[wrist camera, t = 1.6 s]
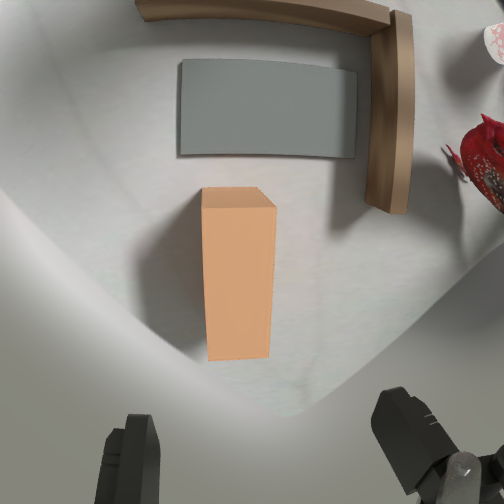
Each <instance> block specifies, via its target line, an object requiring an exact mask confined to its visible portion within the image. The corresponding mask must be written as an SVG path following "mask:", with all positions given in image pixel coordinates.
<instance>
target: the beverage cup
mask: <svg viewBox="0 0 504 504" xmlns="http://www.w3.org/2000/svg"><path fill="white" fill-rule="evenodd" d="M484 40H485V45H486V47H487V50H488V52H489V54H490V55H491V57H492V58H493V59H494V60H495V61H496V62H497V63H499V64H504V22H503V23H499V24H496V25H492V26H489V27H486V29H485V31H484Z"/></svg>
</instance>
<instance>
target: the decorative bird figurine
mask: <svg viewBox="0 0 504 504" xmlns="http://www.w3.org/2000/svg"><path fill="white" fill-rule="evenodd" d="M481 115H482V118H483V121H484V123H482V124H480V125H478V126H477V127H476V128H474V129H471V130H470V131H469V132H468V133H467V134H466V135H465V136H464V138H463V140H462V142H461V146H460V154H461V159H462V161H461V159H460V158H459V156H457V155H456V154H454V153H453V151H452V150H451V148H450V147H449V146H448V145H446V146H447V147H448V149H449V150H450V152H451V154H452V156H453V160H454V161H455V163H456V164H457V165H458V166H459V167H460V169H461V170H462V171H463V172H464V173H465V175H466V176H468V177H469V178H470V181H472V182H473V183H474V185H475V186H476V187H477V189H478V190H479V191H480V192H481V193H482V194H483V195H484V196H485V197H486V198H487V199H488V200H489V201H490V202H491V203H492V204H493V205H494V206H495V207H496V208H497V209H498V210H499V211H500V212H502V213H503V214H504V123H501V122H498V121H494V120H493V119H491V118H490V117H488V116H486V115H484V114H481Z"/></svg>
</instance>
